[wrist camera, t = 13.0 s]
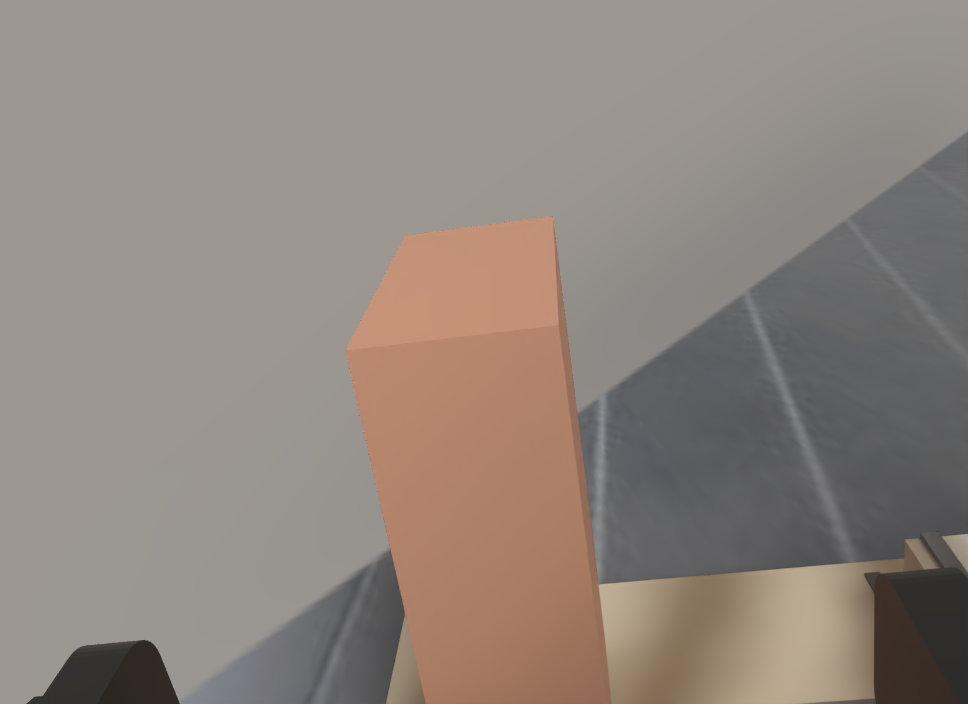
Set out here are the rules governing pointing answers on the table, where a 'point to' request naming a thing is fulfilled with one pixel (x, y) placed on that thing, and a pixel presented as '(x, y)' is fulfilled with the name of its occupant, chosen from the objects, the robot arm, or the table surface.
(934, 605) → the robot arm
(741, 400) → the table surface
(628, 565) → the table surface
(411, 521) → the salmon orange block
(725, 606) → the wooden base board
